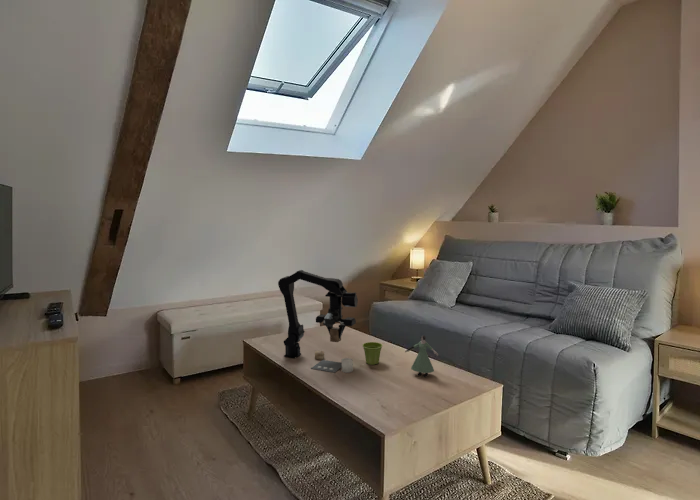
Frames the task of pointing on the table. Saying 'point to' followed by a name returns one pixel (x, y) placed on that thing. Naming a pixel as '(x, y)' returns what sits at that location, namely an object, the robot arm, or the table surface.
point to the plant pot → (372, 352)
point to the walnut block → (334, 334)
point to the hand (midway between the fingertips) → (335, 337)
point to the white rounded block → (347, 365)
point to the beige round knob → (319, 355)
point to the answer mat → (328, 366)
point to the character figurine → (422, 358)
